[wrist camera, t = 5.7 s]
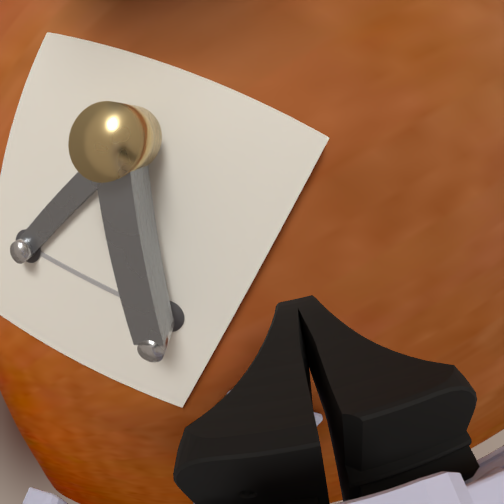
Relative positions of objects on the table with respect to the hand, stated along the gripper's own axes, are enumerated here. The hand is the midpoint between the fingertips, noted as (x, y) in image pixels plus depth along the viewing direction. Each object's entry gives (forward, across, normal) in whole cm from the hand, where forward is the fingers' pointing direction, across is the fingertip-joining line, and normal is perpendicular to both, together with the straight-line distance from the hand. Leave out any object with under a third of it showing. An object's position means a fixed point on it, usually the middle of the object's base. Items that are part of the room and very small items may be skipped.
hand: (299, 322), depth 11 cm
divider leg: (+5, +6, -4) cm, 9 cm away
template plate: (+7, +10, -3) cm, 12 cm away
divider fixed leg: (+6, +11, -6) cm, 14 cm away
